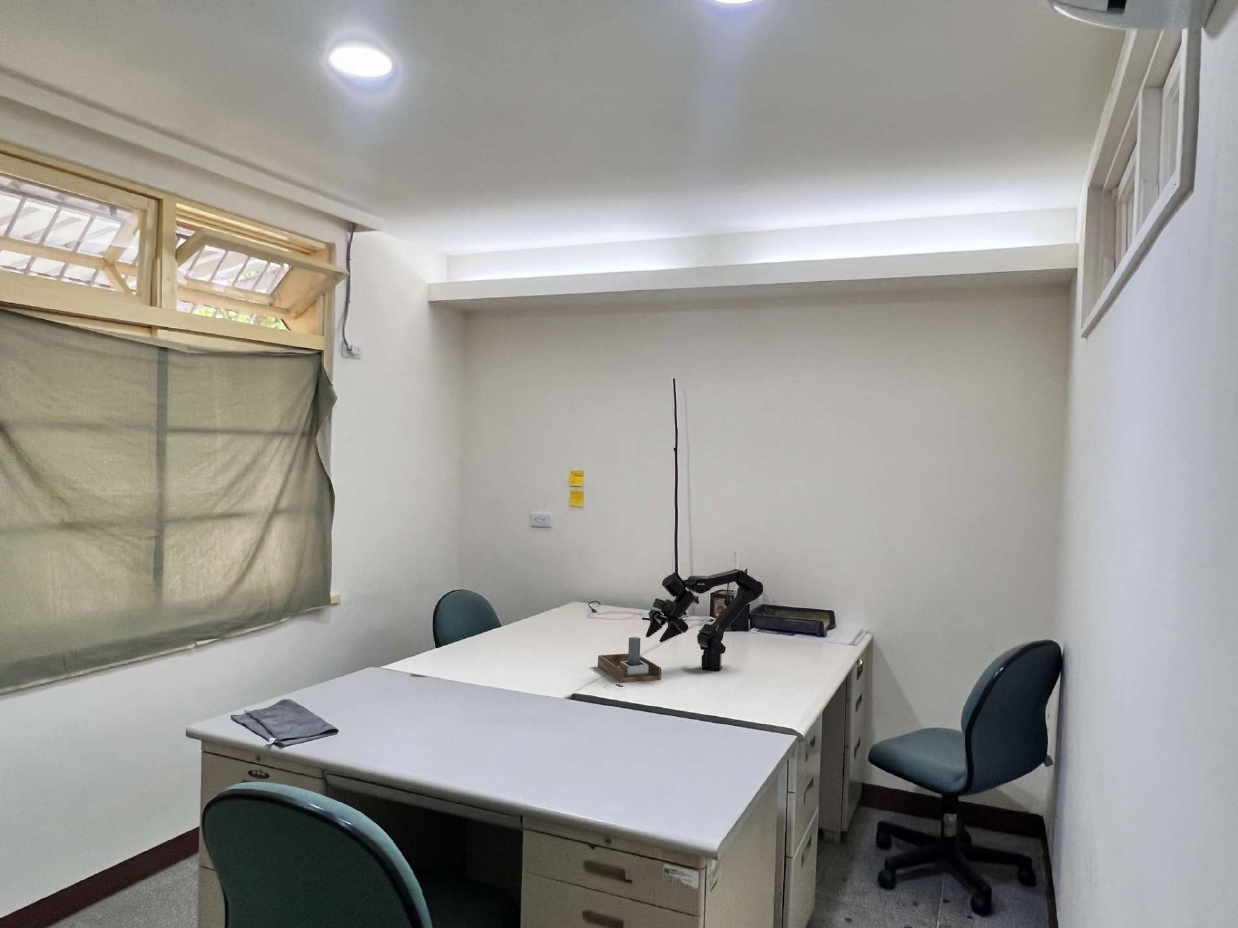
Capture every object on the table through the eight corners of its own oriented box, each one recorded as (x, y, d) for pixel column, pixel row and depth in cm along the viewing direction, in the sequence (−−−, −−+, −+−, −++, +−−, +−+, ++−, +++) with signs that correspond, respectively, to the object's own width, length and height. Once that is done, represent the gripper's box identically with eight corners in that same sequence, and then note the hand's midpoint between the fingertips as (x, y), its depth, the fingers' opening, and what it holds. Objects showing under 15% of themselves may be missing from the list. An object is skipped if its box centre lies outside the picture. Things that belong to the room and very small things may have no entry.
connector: (639, 674, 285) (640, 637, 285) (639, 677, 281) (640, 639, 281) (627, 674, 285) (628, 636, 285) (627, 677, 281) (628, 639, 281)
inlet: (639, 672, 288) (639, 659, 288) (648, 678, 281) (648, 664, 281) (619, 674, 285) (619, 661, 285) (627, 679, 278) (627, 666, 278)
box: (635, 665, 301) (635, 652, 301) (660, 680, 279) (661, 667, 279) (597, 667, 295) (598, 655, 295) (620, 684, 274) (620, 670, 274)
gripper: (653, 586, 298) (626, 619, 292) (681, 593, 281) (653, 628, 276) (671, 606, 301) (645, 639, 296) (700, 614, 285) (672, 650, 280)
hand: (653, 639), depth 287 cm, fingers open, 9 cm apart
